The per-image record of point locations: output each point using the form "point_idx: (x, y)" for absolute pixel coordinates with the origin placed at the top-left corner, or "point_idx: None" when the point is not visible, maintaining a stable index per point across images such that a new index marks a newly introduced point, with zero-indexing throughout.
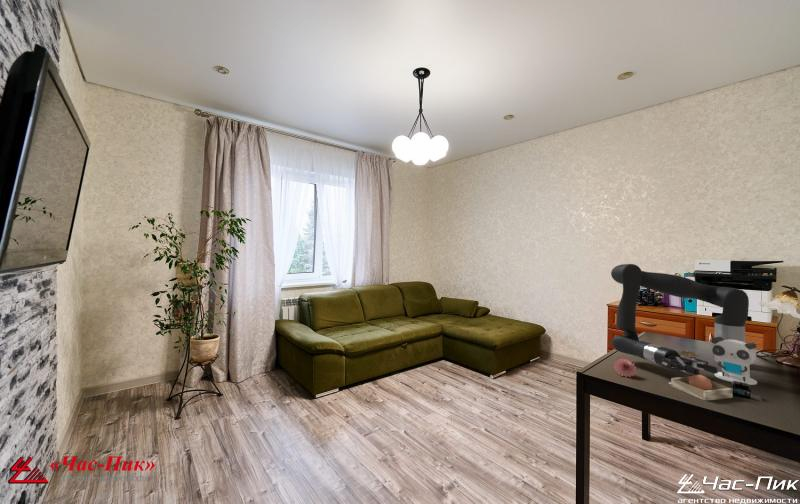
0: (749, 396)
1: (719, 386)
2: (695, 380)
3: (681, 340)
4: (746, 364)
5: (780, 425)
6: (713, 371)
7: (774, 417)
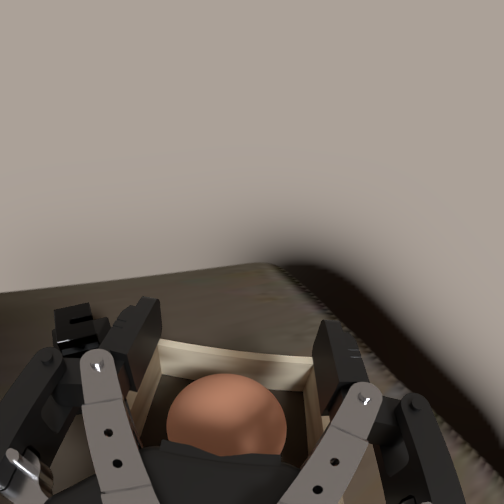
0: (98, 336)
1: (145, 382)
2: (281, 412)
3: None
4: None
5: (254, 272)
6: (158, 331)
7: (215, 284)
